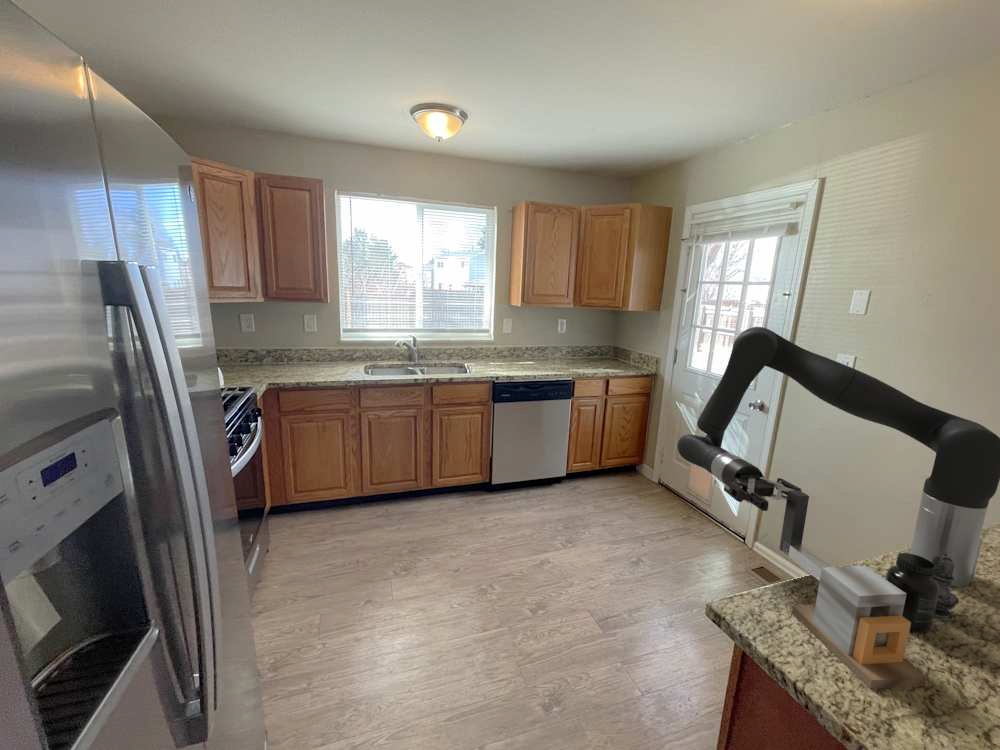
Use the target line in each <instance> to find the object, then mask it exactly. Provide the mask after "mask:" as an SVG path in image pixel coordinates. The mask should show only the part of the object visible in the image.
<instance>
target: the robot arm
mask: <svg viewBox="0 0 1000 750" xmlns="http://www.w3.org/2000/svg"><path fill="white" fill-rule="evenodd" d="M765 367H767V368H770V369H773V371H774V370H775V371H778V372H779V373H782V374H784V375H785V376H787V377H789V378H791V379H792V380H794V381H795V382H796V383H798V384H799V385H800V386H802V387H803V388H804V389H806V390H807V391H808V392H810V393H811V394H813V395H814V396H815V397H817V398H818V399H820V400H821V401H823V402H825V403H827V404H829V405H831V406H832V407H835V408H837V409H839V410H841V411H843V412H846V413H848V414H849V415H852V416H855V417H857V418H860V419H863V420H866V421H869V422H872V423H875V424H879V425H882V426H886V427H889V428H891V429H893V430H896V431H899V432H901V433H902V434H904V435H906V436H908V437H910V438H912V439H914V440H915V441H917V442H919V443H920V444H923V446H926V447H927V448H928V449H930V450H931V451H933V452H934V453H935V457H934V462H933V466H932V470H931V474H930V476H929V477H927V478H925V480H924V482H923V483H924V484H923V488H922V493H921V498H920V502H919V503H920V504H919V507H918V513H917V516H916V517H917V519H916V522H915V527H914V532H913V537H912V541H911V547H910V551H909V554H914V555H917V556H920V557H923V558H925V559H927V560H929V561H931V562H932V559H933V557H934V556H935V555H943V553H944V552H946V553H947V557H949V558H950V559H952V560H953V561H954V563H955V566H954V570H953V574H952V576H953V577H954V579H955V580H954V581H952V582H951V586H950V587H961V588H962V587H963V588H964V587H967V586H968V585H970V582H973V581H974V578H975V574H976V569H977V566H978V561H979V559H980V558H979V557H980V553H981V549H982V545H983V539H982V538H981V535H982V533H983V527H984V523H985V518H986V515H987V510H988V506H989V503H990V500H991V499H992V498H993V497H994V496H995V494H997V490H998V488H999V487H998V486H999V484H1000V436H998V435H997V434H996V433H994V432H993V431H992V430H990V429H988V428H987V427H985V426H984V425H982V424H980V423H978V422H976V421H973V420H970V419H966V418H964V417H960V416H958V415H954V414H951V413H949V412H947V411H943V410H941V409H938V408H935V407H932V406H930V405H927V404H925V403H923V402H920V401H918V400H916V399H914V398H912V397H911V396H909V395H907V394H906V393H904V392H903V391H900V390H899V389H897V388H895V387H893V386H891V385H889V384H888V383H886V382H884V381H882V380H879V379H878V378H876V377H874V376H871V375H869V374H867V373H865V372H862V371H860V370H858V369H856V368H853V367H851V366H848V365H846V364H844V363H841V362H838V361H836V360H834V359H831V358H828V357H826V356H824V355H821V354H819V353H818V354H817V353H814V352H812V351H810V350H807V349H804V348H803V347H801V346H799V345H797V344H796V343H793V342H792V341H790V340H788V339H786V338H785V337H783V336H781V335H779V334H778V333H776V332H774V331H773V330H771V329H769V328H766V327H762V326H753V327H749V328H747V329H745V330H743V331H742V332H741V333H740V334H739V335H737V337H736V338H735V340H734V342H733V345H732V350H731V354H730V356H729V359H728V362H727V365H726V368H725V371H724V372H723V375H722V377H721V379H720V380H719V383H718V384H717V386H716V388H715V389H714V391H713V392H712V395H711V396H710V398H709V399H708V400H707V403H706V404H705V406H704V408H703V410H702V411H701V414H700V416H699V417H698V419H697V423H696V425H697V428H698V429H699V430H700V431H701V432H703V433H705V434H706V435H705V436H701V435H696V434H684V435H682V436H681V437H680V438H679V439H678V441H677V444H676V445H677V451H678V454H679V455H680V456H681V457H682V459H684V460H685V461H687V462H688V463H691V464H693V465H694V466H697V467H699V468H701V469H704V470H705V471H707V472H708V473H710V474H711V475H713V476H714V477H715V478H716V480H718V481H719V482H721V483H722V484H723V485H724V486H723V491H724V492H725V493H727V494H728V495H729V496H730V497H732V498H733V499H734V500H735V501H736V502H737V503H738V502H740V503H742V502H743V501H745V502H746V503H748V504H752V505H753V506H754V507H756V508H758V509H759V510H761V511H762V512H768V509H769V500H767V499H766V498H765V497H767V498H770V499H774V500H777V501H780V500H783V501H787V495H788V491H795V490H800V491H801V492H802V488H800V487H798V486H797V485H794V484H792V483H791V482H789V481H787V480H785V479H783V478H780V477H779V478H776V481H774V480H771V479H769V478H768V477H764V476H765V475H764V474H763V473H762V471H761V469H759V467H757V466H755V465H754V464H752V463H750V462H748V461H747V460H746V459H743V458H742V457H740V456H739V455H736V454H734V453H731V452H729V451H727V450H726V449H724V448H722V445H723V444H722V443H723V440H724V434H725V431H726V430H727V428H728V427H729V425H730V423H731V421H732V420H733V418H734V416H735V414H736V413H737V411H738V408H739V407H740V404H741V402H742V400H743V398H744V395H745V394H746V392H747V390H748V389H749V387H750V385H751V384H752V383H753V381H754V380H755V378H757V376H758V375H759V374H760V373H761V371H763V369H764V368H765ZM775 490H777V491H776V494H774V493H775Z"/></svg>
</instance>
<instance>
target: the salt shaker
mask: <svg viewBox="0 0 1000 750" xmlns="http://www.w3.org/2000/svg"><path fill="white" fill-rule="evenodd" d="M932 563H933V564H934V565H935V571H934V577H933V578H934V579H935V580H936V581H937V583H938V584H939V587H940V590H939V595H938V600H937V605H936V610H935V615H934V619H938V620H942V621H951V620H953V618H954V617H953V614H952V613H951V610H953V609H954V608H955V607H956V605H959V603H960V600H959V598H958V597H957V595H955V593H952V592H951V587H952V586H951V582H952V581H954V580H955V579H954V577H953V576H952V574H953V570H954V566H955V563H954V561H953V560H952V559H950V558H949V557H947V553H946V552H944V553H943V555H935V556H934V557H933V559H932Z"/></svg>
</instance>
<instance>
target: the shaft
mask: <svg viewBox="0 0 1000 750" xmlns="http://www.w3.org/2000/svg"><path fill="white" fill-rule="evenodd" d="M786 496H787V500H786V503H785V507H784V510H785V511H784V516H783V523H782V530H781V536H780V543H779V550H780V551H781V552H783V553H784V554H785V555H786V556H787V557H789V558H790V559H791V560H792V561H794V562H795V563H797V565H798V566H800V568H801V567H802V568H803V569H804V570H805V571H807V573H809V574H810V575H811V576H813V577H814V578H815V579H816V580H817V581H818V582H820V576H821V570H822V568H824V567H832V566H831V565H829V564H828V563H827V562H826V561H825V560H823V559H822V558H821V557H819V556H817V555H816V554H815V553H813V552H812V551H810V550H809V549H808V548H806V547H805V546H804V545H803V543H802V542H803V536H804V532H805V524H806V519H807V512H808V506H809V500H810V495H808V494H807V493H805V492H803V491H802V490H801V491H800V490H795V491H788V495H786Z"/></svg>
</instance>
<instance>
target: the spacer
mask: <svg viewBox="0 0 1000 750" xmlns="http://www.w3.org/2000/svg"><path fill="white" fill-rule="evenodd" d="M910 626H911V622H910V621H908V620H907V619H905V618H904V617H903V616H881V617H862V618H860V620H859V626H858V631H857V636H856V641H855V646H854V651H853V657H854V658H855V659H856V660H857V661H858V662H859V663H860V664H876V663H892V662H903V658H905V653H906V649H907V644H908V638H909V634H910V631H909V630H910ZM886 632H889V635H888V640H887V645H886V646H883V647H874V642H875V637H876V633H886Z"/></svg>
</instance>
